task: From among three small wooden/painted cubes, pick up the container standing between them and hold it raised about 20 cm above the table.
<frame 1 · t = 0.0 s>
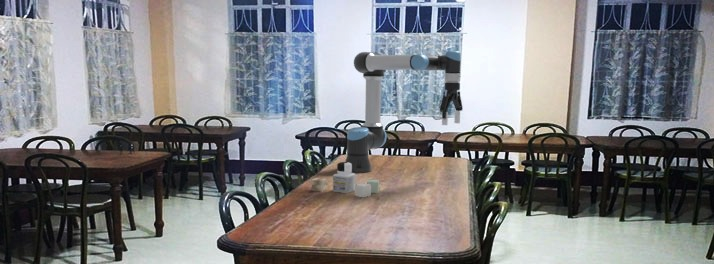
hand: (451, 124, 266), 28 cm above the table, fingers open, 13 cm apart
container: (344, 191, 238), on the table
beech cube: (318, 190, 239), on the table
sage cube: (372, 191, 237), on the table
cream cube: (362, 195, 229), on the table
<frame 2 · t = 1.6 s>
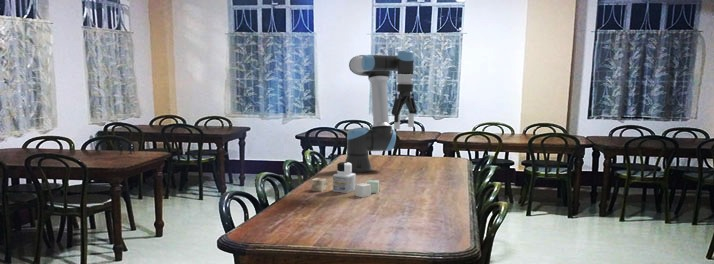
hand: (404, 128, 251), 27 cm above the table, fingers open, 13 cm apart
nothing on the table moved.
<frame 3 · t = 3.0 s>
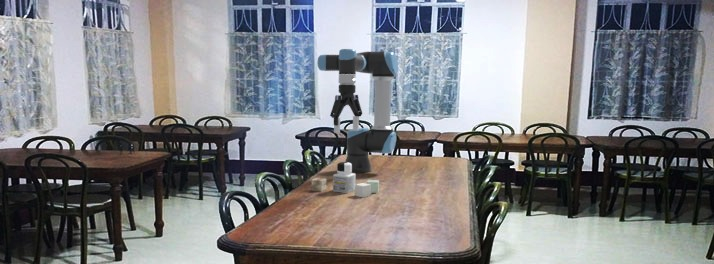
hand: (346, 131, 235), 27 cm above the table, fingers open, 13 cm apart
nothing on the table moved.
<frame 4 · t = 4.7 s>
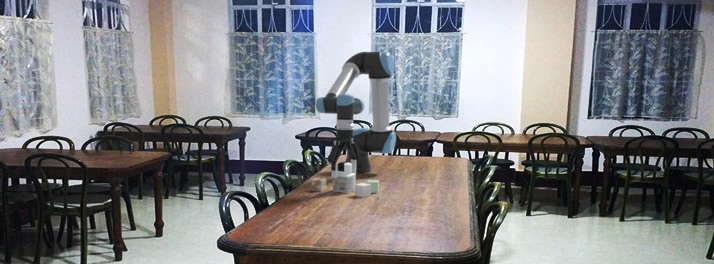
hand: (344, 175, 237), 7 cm above the table, fingers open, 13 cm apart
nothing on the table moved.
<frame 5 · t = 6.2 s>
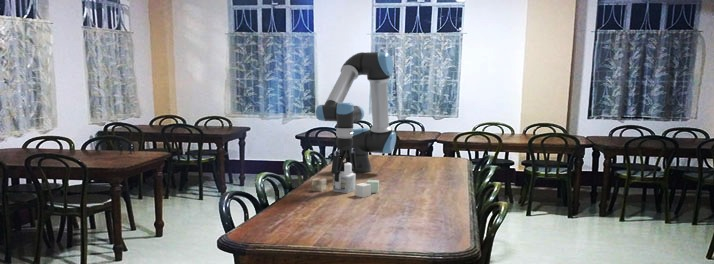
hand: (344, 186, 238), 2 cm above the table, fingers closed on container, 8 cm apart
container: (344, 191, 238), on the table, touching gripper
everything else where it was.
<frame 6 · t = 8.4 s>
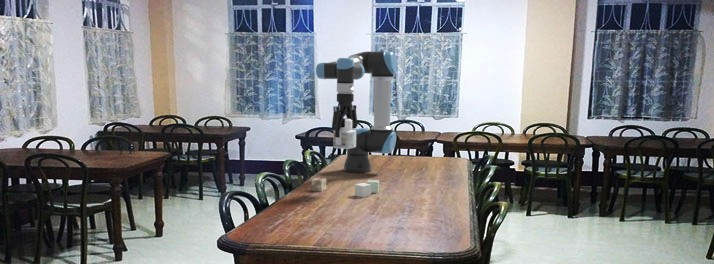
hand: (344, 143, 235), 22 cm above the table, fingers closed on container, 8 cm apart
container: (344, 148, 236), point 20 cm above the table, touching gripper
everything else where it was.
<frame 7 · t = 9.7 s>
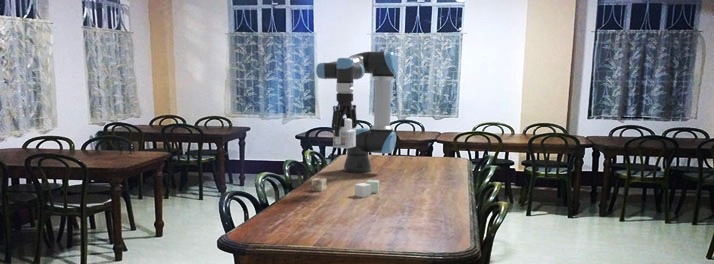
hand: (344, 142, 237), 22 cm above the table, fingers closed on container, 8 cm apart
container: (344, 147, 237), point 20 cm above the table, touching gripper
everything else where it was.
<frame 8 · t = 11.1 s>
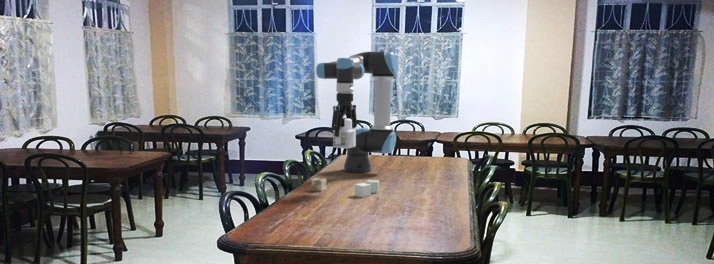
hand: (344, 142, 237), 22 cm above the table, fingers closed on container, 8 cm apart
container: (344, 147, 237), point 20 cm above the table, touching gripper
everything else where it was.
at the end: the gripper is holding container; container point 19.7 cm above the table; beech cube moved 0.1 cm from its start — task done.
